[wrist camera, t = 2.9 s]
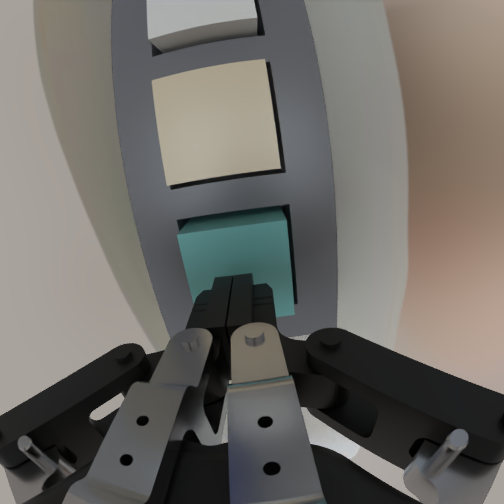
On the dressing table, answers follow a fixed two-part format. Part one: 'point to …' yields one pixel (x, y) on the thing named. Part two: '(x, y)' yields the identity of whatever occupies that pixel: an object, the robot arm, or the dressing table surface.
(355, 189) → the dressing table surface
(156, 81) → the sand key
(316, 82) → the grey board with slots
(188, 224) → the teal key
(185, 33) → the grey key
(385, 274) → the dressing table surface
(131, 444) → the robot arm
